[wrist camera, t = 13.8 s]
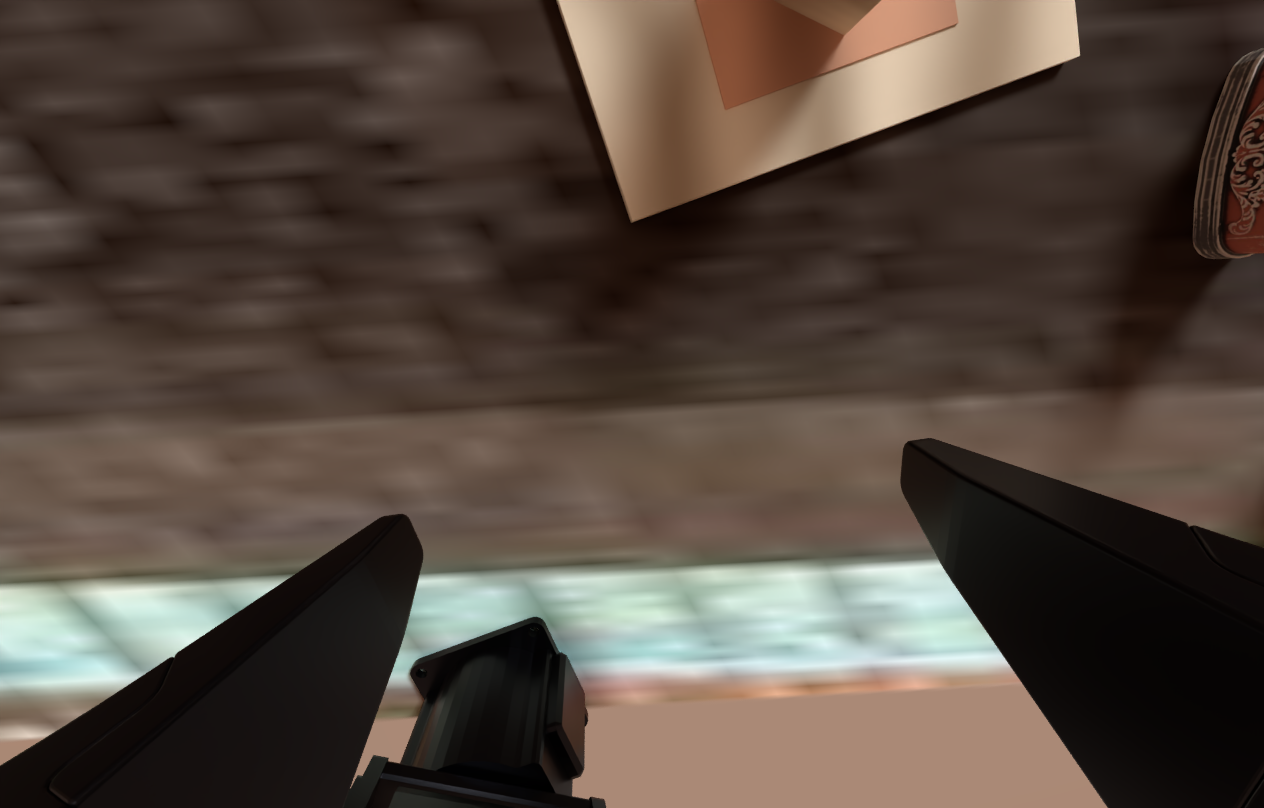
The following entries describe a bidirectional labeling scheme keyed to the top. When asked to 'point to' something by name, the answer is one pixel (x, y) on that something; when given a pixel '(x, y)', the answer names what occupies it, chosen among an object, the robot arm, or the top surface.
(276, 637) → the robot arm
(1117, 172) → the top surface
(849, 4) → the pepper mill
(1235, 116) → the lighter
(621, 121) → the card
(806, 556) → the top surface
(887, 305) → the top surface
